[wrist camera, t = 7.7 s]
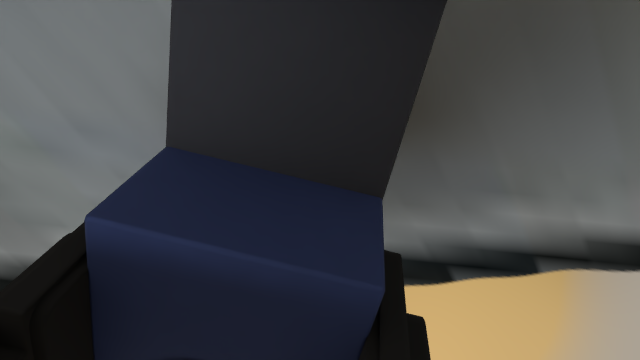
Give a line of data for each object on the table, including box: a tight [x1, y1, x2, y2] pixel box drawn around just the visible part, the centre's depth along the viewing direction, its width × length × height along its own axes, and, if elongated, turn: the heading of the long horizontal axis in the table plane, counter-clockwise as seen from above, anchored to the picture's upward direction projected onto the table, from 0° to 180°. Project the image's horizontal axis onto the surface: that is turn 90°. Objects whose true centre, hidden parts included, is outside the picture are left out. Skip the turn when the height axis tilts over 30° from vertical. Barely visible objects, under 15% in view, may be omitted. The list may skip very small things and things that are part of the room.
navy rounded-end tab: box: [84, 0, 447, 360], centre depth 9 cm, size 12×5×4 cm, turn 168°
